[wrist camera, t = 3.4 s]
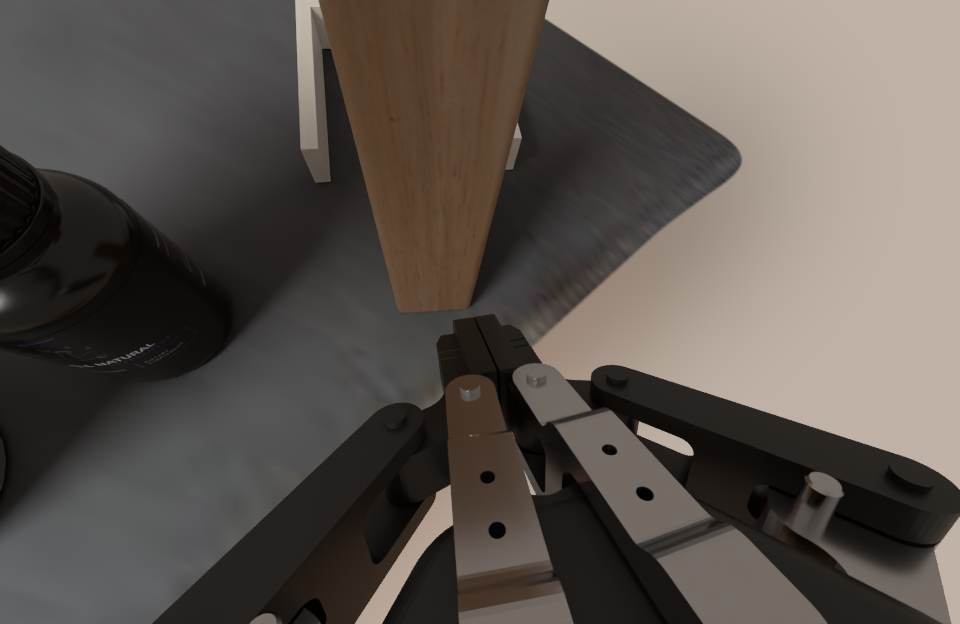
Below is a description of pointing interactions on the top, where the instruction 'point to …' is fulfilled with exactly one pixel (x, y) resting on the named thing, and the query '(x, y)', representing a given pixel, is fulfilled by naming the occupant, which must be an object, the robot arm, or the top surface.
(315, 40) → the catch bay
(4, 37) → the top surface
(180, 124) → the top surface
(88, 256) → the supplement bottle
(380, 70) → the wooden block
